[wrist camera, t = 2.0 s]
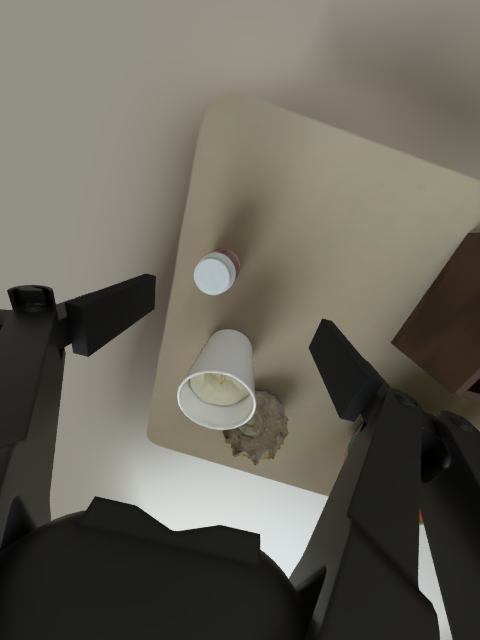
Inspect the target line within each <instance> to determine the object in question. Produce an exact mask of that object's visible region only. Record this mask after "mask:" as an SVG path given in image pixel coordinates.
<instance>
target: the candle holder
mask: <svg viewBox="0 0 480 640" xmlns="http://www.w3.org/2000/svg"><path fill="white" fill-rule="evenodd" d="M177 400H178V404H179V406H180V408H181V410H182V411H183V412H184V414H185V415H186V416H187V417H188V418H190V419H191V420H192V421H194V422H195V423H197V424H199V425H202V426H204V427H207V428H211V429H218V430H226V429H233V428H236V427H239V426H241V425H243V424H245V423H246V422H248V421H249V420H250V419H251V417H252V416H253V414H254V412H255V409H256V397H255V382H254V363H253V349H252V345H251V343H250V341H249V339H248V338H247V337H246V336H245V335H244V334H242V333H241V332H239V331H236V330H232V329H223V330H219V331H217V332H215V333H214V334H213V335H211V337H210V338H209V339H208V341H207V342H206V344H205V345H204V347H203V349H202V350H201V352H200V354H199V355H198V357H197V359H196V360H195V362H194V364H193V365H192V367H191V368H190V370H189V372H188V373H187V375H186V377H185V378H184V380H183V381H182V382H181V384H180V386H179V388H178V392H177Z"/></svg>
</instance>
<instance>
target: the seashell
mask: <svg viewBox="0 0 480 640" xmlns="http://www.w3.org/2000/svg"><path fill="white" fill-rule="evenodd" d="M255 397H256V409H255V412H254V414H253V416H252V417H251V419H250V420H249V421H248V422H246V423H245V424H243V425H241V426H239V427H236V428H233V429H226V430H223V432H222V433H223V434H224V436H225V439H226V443H229V444H231V448H232V449H233V456H234V457H236V456H239V455H243V456H247V457H248V458H250V459H251V460H252V461H253V463H254V465H256V464H258V463H259V459H265V458H267V459H271V458H272V459H274V456H275V454H276V452H277V450H279V449H280V448H281V447H282V445H283V443H284V439H285V437H286V436H287V435H288V430H287V421H288V419H287V417H286V415H285V412H284V409H283V407H282V405H281V403H279V402H278V401H277V400H276V398H275V396H272V395H270V394H268V393H267V392H266V391H265V390H264V391H262V392H261V391H255Z"/></svg>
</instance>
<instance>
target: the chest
mask: <svg viewBox="0 0 480 640" xmlns="http://www.w3.org/2000/svg"><path fill="white" fill-rule="evenodd" d="M391 343H392V344H393V345H394V346H395V347H397V348H398V349H399V350H400V351H401V352H403V353H404V354H405V355H406V356H408V357H409V358H410V359H411V360H412V361H414V362H415V363H416V364H417V365H419V366H420V367H421V368H422V369H423V370H425V371H426V372H427V373H428V374H430V375H431V376H432V377H433V378H434V379H436V380H437V381H438V382H439V383H441V384H442V385H443V386H444V387H445V388H447V389H448V390H449V391H450V392H452V393H453V394H455V395H459V396H463V397H467V398H471V399H474V400H478V401H480V233H468V235H467V236H466V237H465V239H464V240H463V242H462V243H461V244H460V246H459V247H458V249H457V250H456V252H455V253H454V254H453V256H452V257H451V259H450V260H449V261H448V263H447V264H446V266H445V267H444V269H443V270H442V271H441V273H440V274H439V276H438V277H437V278H436V280H435V281H434V283H433V284H432V285H431V287H430V288H429V290H428V291H427V293H426V294H425V295H424V297H423V298H422V300H421V301H420V302H419V304H418V305H417V307H416V308H415V310H414V311H413V312H412V314H411V315H410V317H409V318H408V319H407V321H406V322H405V324H404V325H403V327H402V328H401V329H400V331H399V332H398V334H397V335H396V336H395V338H394V339H393V341H392V342H391Z"/></svg>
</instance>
